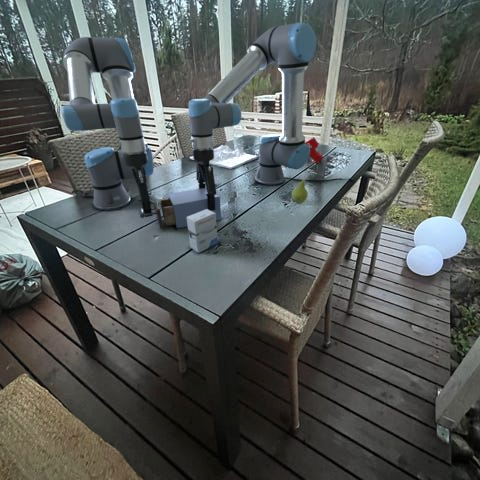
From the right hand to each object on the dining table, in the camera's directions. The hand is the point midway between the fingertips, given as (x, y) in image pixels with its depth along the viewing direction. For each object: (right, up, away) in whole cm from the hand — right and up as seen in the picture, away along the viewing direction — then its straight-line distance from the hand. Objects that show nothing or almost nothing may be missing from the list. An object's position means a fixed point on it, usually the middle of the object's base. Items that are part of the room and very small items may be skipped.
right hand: (207, 204), depth 109 cm
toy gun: (+54, +35, +63) cm, 90 cm away
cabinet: (-5, -5, +1) cm, 7 cm away
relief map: (+2, +39, +70) cm, 81 cm away
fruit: (+40, +3, +13) cm, 42 cm away
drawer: (-13, -7, -2) cm, 15 cm away
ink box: (+1, -16, -16) cm, 23 cm away
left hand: (-21, -5, -7) cm, 23 cm away
